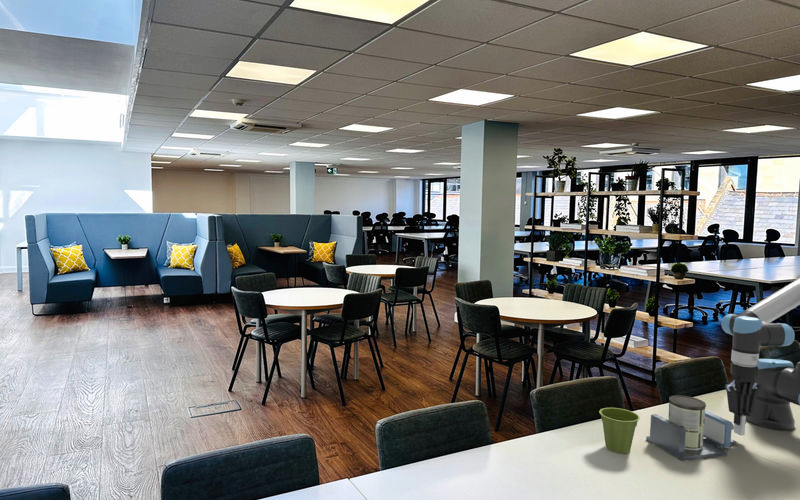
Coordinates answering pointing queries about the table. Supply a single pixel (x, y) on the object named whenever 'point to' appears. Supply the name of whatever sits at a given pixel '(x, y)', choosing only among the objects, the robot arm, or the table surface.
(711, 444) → the vise base
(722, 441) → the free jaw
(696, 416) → the coffee can
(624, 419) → the plant pot
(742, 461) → the table surface
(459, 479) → the table surface
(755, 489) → the table surface
